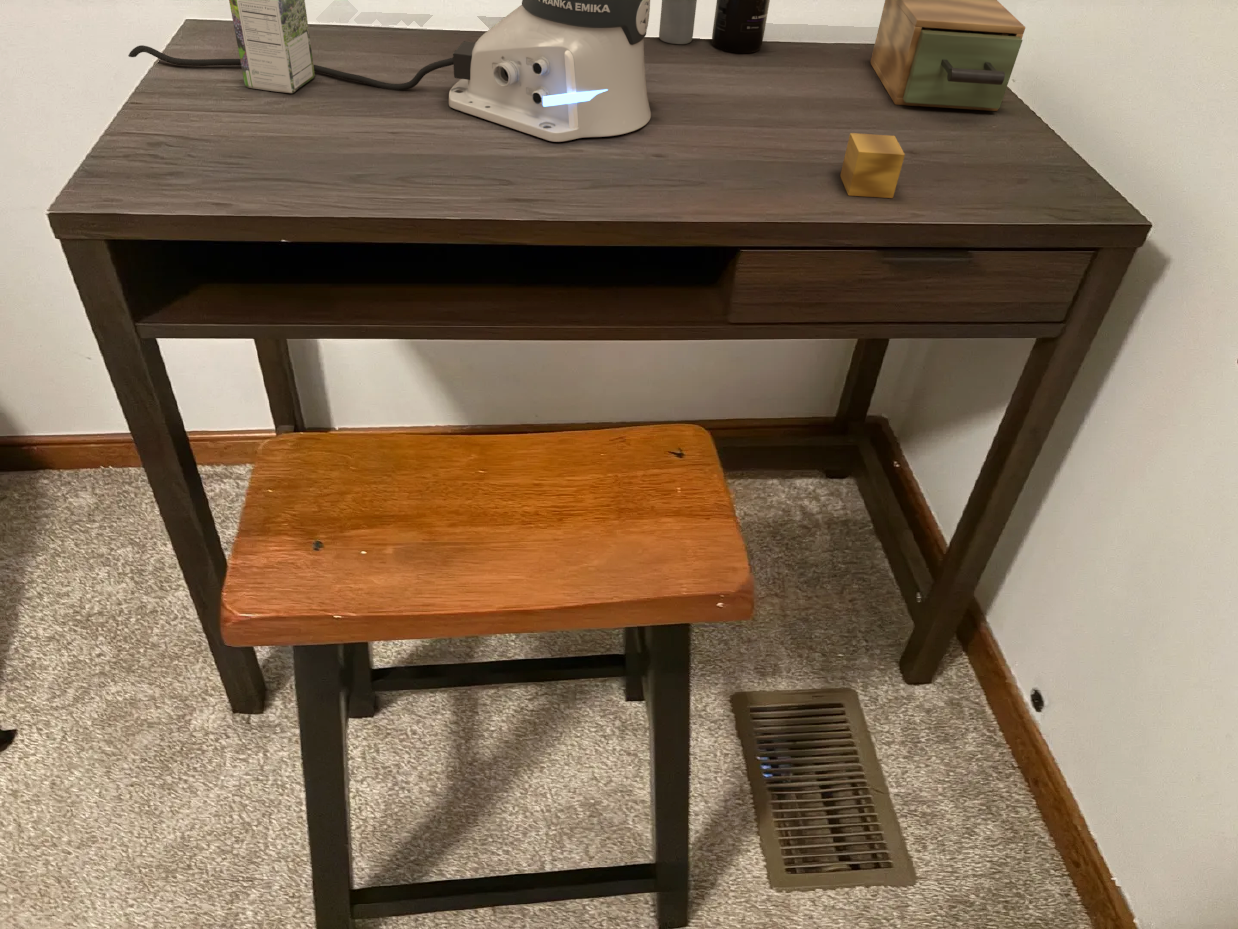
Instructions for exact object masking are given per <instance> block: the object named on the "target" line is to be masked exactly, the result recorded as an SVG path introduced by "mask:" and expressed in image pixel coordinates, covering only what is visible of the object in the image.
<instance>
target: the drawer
mask: <svg viewBox="0 0 1238 929" xmlns="http://www.w3.org/2000/svg"><path fill="white" fill-rule="evenodd" d="M1022 43H1023V38H1022V39H1021V38H1020V37H1016V36H1009V34H1008V33H996V32H982V31H967V30H952V29H938V28H923V27H922V29H921V33H920V37H919V40H918V44H917V48H916V52H915V55H914V59H913V63H912V67H911V70H910V74H909V78H908V82H907V85H906V89H905V93H904V97H903V100H904V101H905V103H918V104H934V105H949V106H965V107H980V108H996V109H998V110H1000V108H1001V105H1002V102H1003V99H1004V96H1005V93H1006V91H1007V88H1008V86H1009V85H1008V84H1009V81H1010V79H1011V76H1012V73H1013V70H1014V67H1015V64H1016V61H1017V58H1018V55H1019V52H1020V50H1021V47H1022Z"/></svg>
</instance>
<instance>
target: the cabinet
mask: <svg viewBox="0 0 1238 929" xmlns="http://www.w3.org/2000/svg"><path fill="white" fill-rule="evenodd" d="M922 27H923V28H938V29H952V30H967V31H982V32H996V33H1008V34H1009V36H1016V37H1020V38H1021V39H1022V40H1023V37H1024V33H1025V30H1026V26H1025V25H1024V24H1023V23H1022V22H1021V21H1019V19H1017V17H1016V16H1014V15H1013V13H1012V12H1010V11H1009V10H1008V9H1007V8H1006V7H1005V6H1004V5H1003V4H1002V3H1001V2H1000V1H999V0H884V4H883V8H882V12H881V17H880V21H879V24H878V29H877V32H876V36H875V42H874V46H873V50H872V53H871V54H872V55H871V59H870V66H871V67H872V68H873V70H874V72H875V74H876V75H877V77H878V79H879V80H880V82H881V84H882V86H883V87H884V89H885V90H886V92H887V94H888V95H889V97H890V99H891V100H892V102H893V104H894V105H896V106H912V107H926V108H940V109H941V108H943V109H957V110H958V109H960V110H975V111H989V112H998V111H999V109H996V108H980V107H965V106H949V105H934V104H918V103H905V101H904V100H903V97H904V93H905V89H906V85H907V82H908V78H909V74H910V70H911V67H912V63H913V59H914V55H915V52H916V48H917V44H918V40H919V37H920V33H921V29H922Z"/></svg>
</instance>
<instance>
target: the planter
mask: <svg viewBox="0 0 1238 929" xmlns="http://www.w3.org/2000/svg"><path fill="white" fill-rule="evenodd" d="M697 3H698V0H661V8H660V19H659V29H658V31H659V32H658V39H660V41H662V42H664V43H667V44H671V45H687V44H690V43H692V41H693V37H694V30H695V19H696V12H697V11H696V9H697Z"/></svg>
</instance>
